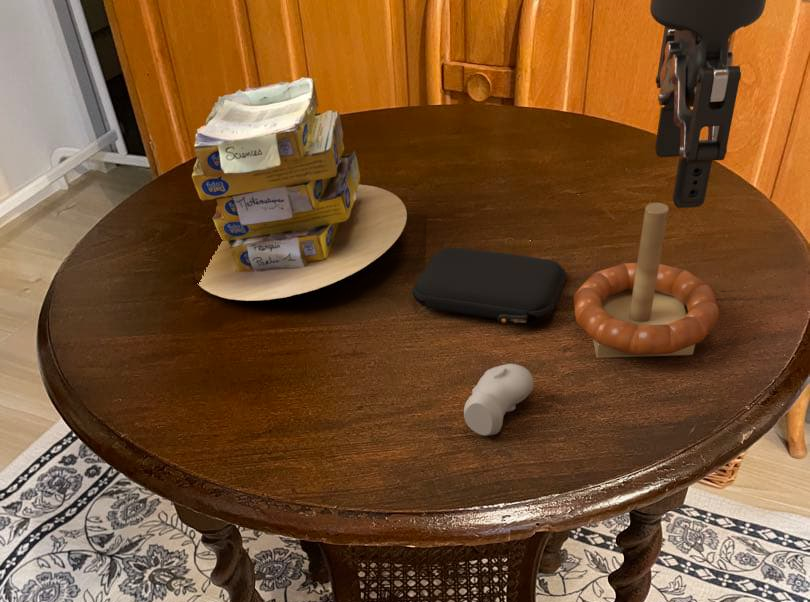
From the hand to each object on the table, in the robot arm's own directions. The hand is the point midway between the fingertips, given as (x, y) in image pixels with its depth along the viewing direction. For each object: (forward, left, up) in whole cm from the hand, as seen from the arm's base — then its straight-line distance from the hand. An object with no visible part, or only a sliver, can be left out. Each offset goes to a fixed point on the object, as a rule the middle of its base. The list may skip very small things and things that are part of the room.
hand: (677, 179), depth 68 cm
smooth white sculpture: (+15, +7, -18) cm, 24 cm away
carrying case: (+15, -11, -18) cm, 26 cm away
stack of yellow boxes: (+36, -22, -18) cm, 46 cm away
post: (0, -5, -18) cm, 18 cm away
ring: (0, -5, -15) cm, 16 cm away
